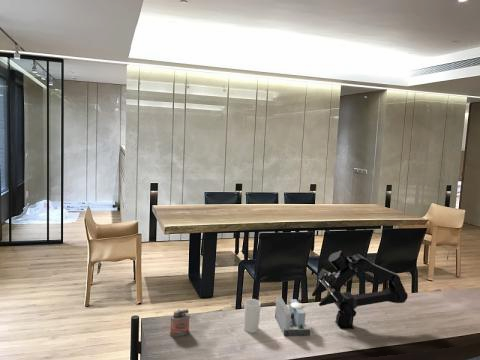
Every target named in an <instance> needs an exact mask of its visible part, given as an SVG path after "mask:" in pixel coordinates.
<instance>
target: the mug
mask: <svg viewBox="0 0 480 360" xmlns="http://www.w3.org/2000/svg"><path fill="white" fill-rule="evenodd" d="M261 305H262V303H261V301H260V300H259V299H256V298H248V299H246V300H245V301H244V308H243V309H244V310H243V315H244V316H243V330H244V332H247V333H257V332H258V331H259V324H260V316H261V315H260V313H261Z"/></svg>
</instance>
